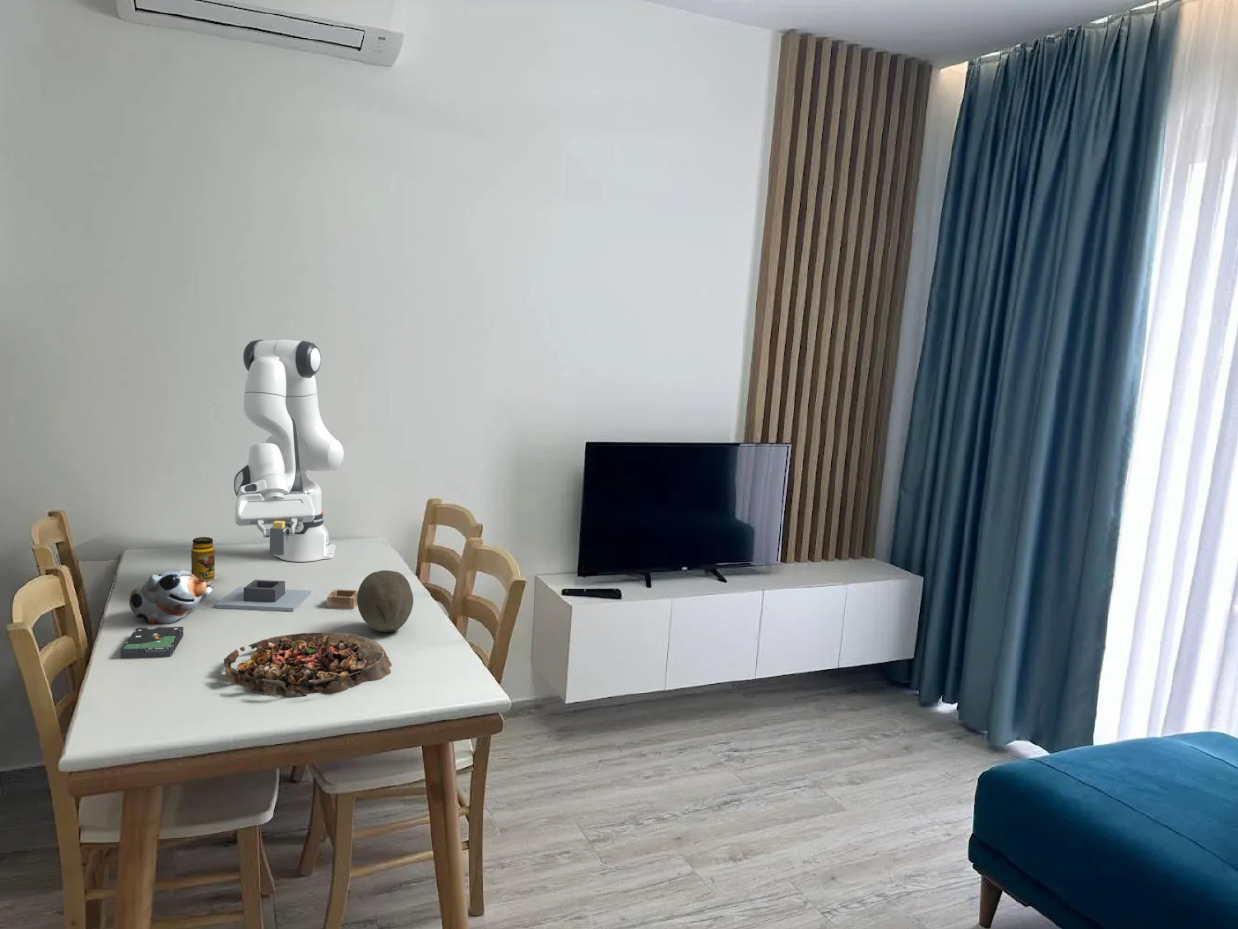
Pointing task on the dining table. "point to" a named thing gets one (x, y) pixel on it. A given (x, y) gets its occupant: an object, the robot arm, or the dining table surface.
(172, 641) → the disk drive
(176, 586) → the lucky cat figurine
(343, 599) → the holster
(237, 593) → the port
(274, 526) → the plug
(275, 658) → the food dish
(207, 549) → the condiment
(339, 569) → the dining table surface
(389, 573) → the grey brown round stone
